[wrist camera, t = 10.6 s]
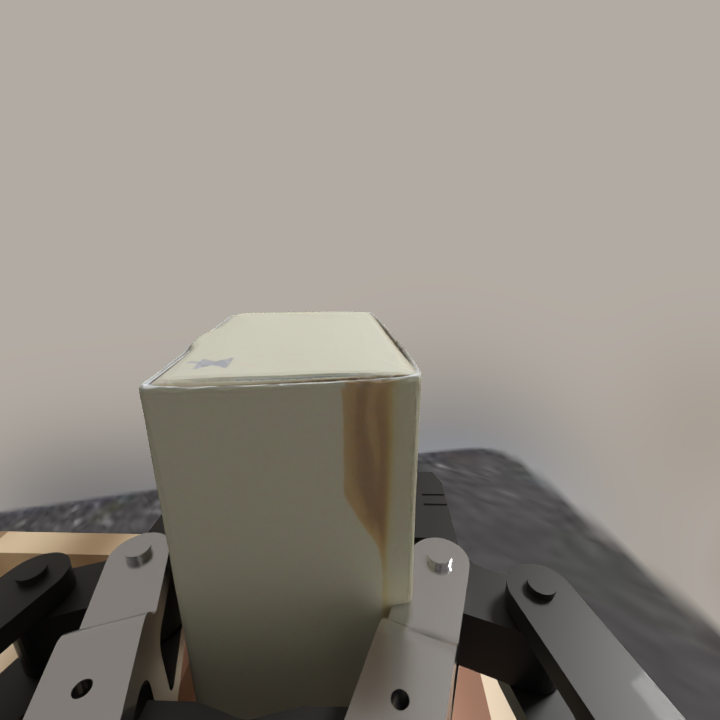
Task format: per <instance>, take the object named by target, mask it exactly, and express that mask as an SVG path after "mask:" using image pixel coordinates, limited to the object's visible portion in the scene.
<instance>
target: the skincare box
mask: <svg viewBox="0 0 720 720" xmlns="http://www.w3.org/2000/svg"><path fill="white" fill-rule="evenodd" d="M421 376H422V375H421V372H420V370H419V369H418V367H417V365H416V363H415V362H414V361H413V359H412V358H411V356H410V354H408V352H407V351H406V349H405V348H404V347H403V346H402V344H401V343H400V342H399V341H398V340H397V339H396V337H395V336H394V335H393V334H392V333H391V332H390V330H388V328H387V327H386V326H385V325H384V324H383V323H382V322H381V321H380V320H379V319H378V318H377V317H376V316H375V315H374V314H373V313H372V312H291V313H245V314H236V315H234V316H229V317H228V318H227V319H226V320H225V321H223V322H222V323H221V324H220V325H218V326H217V327H215V328H214V329H213V330H212V331H209V332H207V333H205V334H203V335H201V336H200V337H199V338H197V339H196V340H195V341H194V342H193V343H192V345H191V346H190V347H189V348H188V349H187V350H186V351H185V352H184V353H183V354H181V355H180V356H179V357H177V358H176V359H175V360H173V361H172V362H171V363H170V364H168V365H167V366H166V367H165V368H164V369H162V370H161V371H159V372H158V373H156V374H155V375H154V376H152V377H151V378H150V379H148V380H147V381H145V382H143V383H142V385H141V386H140V388H139V391H140V398H141V402H142V407H143V412H144V418H145V423H146V429H147V434H148V440H149V446H150V451H151V458H152V463H153V469H154V474H155V479H156V484H157V490H158V495H159V500H160V506H161V512H162V518H163V524H164V530H165V535H166V540H167V545H168V550H169V555H170V561H171V567H172V573H173V579H174V584H175V590H176V595H177V599H178V605H179V610H180V616H181V621H182V626H183V632H184V637H185V642H186V647H187V653H188V658H189V663H190V669H191V675H192V680H193V686H194V691H195V697H196V702H200V703H202V704H205V705H207V706H210V707H212V708H215V709H217V710H220V711H223V712H225V713H228V714H230V715H233V716H235V717H238V718H240V719H244V720H250V719H254V718H258V717H262V716H266V715H269V714H273V713H277V712H281V711H285V710H288V709H292V708H296V707H300V706H303V705H305V706H333V707H349V705H350V702H351V700H352V697H353V694H354V691H355V689H356V686H357V683H358V680H359V677H360V675H361V672H362V669H363V666H364V663H365V661H366V658H367V655H368V652H369V649H370V647H371V644H372V641H373V638H374V635H375V633H376V630H377V627H378V625H379V623H380V621H381V619H382V618H386V619H388V617H389V614H390V611H391V608H392V605H397V604H403V603H408V602H410V601H411V598H412V590H413V562H414V531H415V504H416V483H417V458H418V435H419V410H420V393H421Z"/></svg>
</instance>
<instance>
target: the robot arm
mask: <svg viewBox="0 0 720 720" xmlns="http://www.w3.org/2000/svg"><path fill="white" fill-rule="evenodd" d="M11 644H13V645H14V648H15V650H16V653H17V655H18V658H16V659H15V660H14V661H13V662H12V663H11V664H10V665H9V666H8V667H7V668H6V669H4V670H3V671H2V672H1V673H0V720H244V719H240V718H238V717H235V716H233V715H230V714H228V713H225V712H223V711H220V710H217V709H215V708H212V707H210V706H207V705H205V704H202V703H200V702H192V701H178V694H179V686H180V677H181V669H182V661H183V653H184V645H185V637H184V632H183V626H182V621H181V616H180V610H179V605H178V599H177V595H176V590H175V584H174V579H173V573H172V567H171V561H170V555H169V550H168V545H167V540H166V535H165V530H164V524H163V518H162V515H161V516H160V518H159V519H158V520H157V522H156V523H155V524H154V526H153V527H152V528H151V530H150V531H149V532H148V533H145V534H141V535H138V536H135V537H133V538H130V539H128V540H127V541H125V542H123V543H122V544H120V545H119V546H118V547H117V548H115V549H114V550H113V552H112V553H111V554H110V555H109V557H108V559H107V560H106V561H103V562H98V563H94V564H89V565H85V566H80V567H76V568H73V567H72V564H71V561H70V558H69V556H67V555H66V554H64V553H60V552H53V553H46V554H42V555H39V556H36V557H33V558H31V559H29V560H26V561H24V562H22V563H21V564H19V565H17V566H16V567H14V568H13V569H11V570H10V571H8V572H7V573H6V574H4V575H3V576H1V577H0V654H1V653H2V652H3V651H5V650H6V649H7V648H8V647H9V646H10V645H11ZM459 665H460V666H462V667H465V668H468V669H470V670H473V671H475V672H478V673H480V674H483V675H486V676H488V677H491V678H493V679H496V680H497V682H498V684H499V686H500V688H501V690H502V692H503V694H504V696H505V698H506V700H507V702H508V704H509V706H510V708H511V710H512V712H513V714H514V716H515V718H516V720H686V719H685V718H684V717H683V716H682V715H681V714H680V712H679V711H678V710H677V709H676V708H675V707H674V705H673V704H672V703H671V702H670V701H669V700H668V698H667V697H666V696H665V695H664V694H663V693H662V691H661V690H660V689H659V688H658V687H657V686H656V684H655V683H654V682H653V681H652V680H651V679H650V677H649V676H648V675H647V674H646V673H645V672H644V670H643V669H642V668H641V667H640V666H639V665H638V663H637V662H636V661H635V660H634V659H633V658H632V656H631V655H630V654H629V653H628V652H627V651H626V649H625V648H624V647H623V646H622V645H621V644H620V642H619V641H618V640H617V639H616V638H615V637H614V635H613V634H612V633H611V632H610V631H609V630H608V628H607V627H606V626H605V625H604V624H603V623H602V621H601V620H600V619H599V618H598V617H597V616H596V614H595V613H594V612H593V611H592V610H591V609H590V607H589V606H588V605H587V604H586V603H585V602H584V600H583V599H582V598H581V597H580V596H579V595H578V593H577V592H576V591H575V590H574V589H573V588H572V586H571V585H570V584H569V583H568V582H567V581H566V580H565V579H564V578H563V577H562V576H561V575H559V574H558V573H556V572H555V571H553V570H551V569H549V568H547V567H545V566H542V565H538V564H532V563H524V564H519V565H516V566H515V567H513V568H512V569H511V570H510V571H509V573H508V576H507V575H504V574H500V573H497V572H493V571H490V570H487V569H484V568H482V567H480V566H478V565H476V564H474V563H473V562H471V561H470V560H469V559H468V557H467V555H466V553H465V552H464V551H463V549H462V548H461V547H459V546H458V543H457V540H456V536H455V532H454V528H453V525H452V521H451V517H450V513H449V510H448V506H447V502H446V499H445V496H444V491H443V487H442V484H441V482H440V481H439V479H438V478H437V477H436V476H435V475H434V474H433V473H432V472H418V471H417V483H416V504H415V531H414V562H413V590H412V598H411V601H410V602H408V603H403V604H397V605H392V608H391V611H390V614H389V617H388V619H386V618H382V619H381V621H380V623H379V625H378V627H377V630H376V633H375V635H374V638H373V641H372V644H371V647H370V649H369V652H368V655H367V658H366V661H365V663H364V666H363V669H362V672H361V675H360V677H359V680H358V683H357V686H356V689H355V691H354V694H353V697H352V700H351V702H350V705H349V707H333V706H305V705H303V706H300V707H296V708H292V709H288V710H285V711H281V712H277V713H273V714H269V715H266V716H262V717H258V718H254V719H250V720H452V716H453V709H454V702H455V694H456V687H457V680H458V673H459Z"/></svg>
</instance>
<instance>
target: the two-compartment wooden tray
mask: <svg viewBox="0 0 720 720" xmlns="http://www.w3.org/2000/svg"><path fill="white" fill-rule="evenodd" d="M138 535H141V534H103V533H53V532H3V531H0V577H1V576H3V575H4V574H6V573H7V572H8V571H10V570H11V569H13V568H14V567H16V566H17V565H19V564H21V563H22V562H24V561H26V560H29V559H31V558H33V557H36V556H39V555H42V554H46V553H53V552H60V553H64V554H66V555H67V556H69V558H70V561H71V564H72V567H73V568H76V567H80V566H85V565H89V564H94V563H98V562H103V561H106V560H107V559H108V557H109V555H110V554H111V553H112V552H113V550H114V549H115V548H117V547H118V546H119V545H120V544H122V543H123V542H125V541H127V540H128V539H130V538H133V537H135V536H138ZM16 658H18V655H17V653H16V650H15V648H14V645H13V644H11V645H10V646H9V647H8V648H7V649H6V650H5V651H3V652H2V653H1V654H0V673H1V672H2V671H3V670H4V669H6V668H7V667H8V666H9V665H10V664H11V663H12V662H13V661H14V660H15V659H16ZM178 701H192V702H196V697H195V691H194V686H193V680H192V675H191V669H190V663H189V658H188V653H187V647H186V642H185V645H184V653H183V661H182V669H181V677H180V686H179V694H178ZM452 720H516V718H515V716H514V714H513V712H512V710H511V708H510V706H509V704H508V702H507V700H506V698H505V696H504V694H503V692H502V690H501V688H500V686H499V684H498V682H497V680H496V679H493V678H491V677H488V676H486V675H483V674H480V673H478V672H475V671H473V670H470V669H468V668H465V667H462V666H460V665H459V673H458V680H457V687H456V694H455V702H454V709H453V716H452Z"/></svg>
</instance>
